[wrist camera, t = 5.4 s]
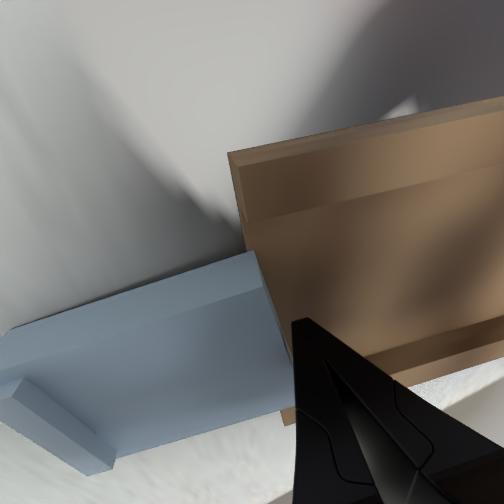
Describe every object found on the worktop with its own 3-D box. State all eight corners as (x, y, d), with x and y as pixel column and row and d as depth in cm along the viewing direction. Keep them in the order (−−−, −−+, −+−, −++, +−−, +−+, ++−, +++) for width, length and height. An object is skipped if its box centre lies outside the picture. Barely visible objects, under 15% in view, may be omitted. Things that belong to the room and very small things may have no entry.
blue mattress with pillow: (253, 249, 9) (266, 301, 7) (292, 358, 12) (310, 418, 10) (9, 329, 10) (-53, 402, 7) (106, 415, 13) (83, 485, 10)
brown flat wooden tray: (747, 45, 10) (860, 34, 8) (591, 291, 16) (638, 313, 15) (227, 152, 8) (238, 166, 6) (272, 387, 14) (284, 426, 13)
